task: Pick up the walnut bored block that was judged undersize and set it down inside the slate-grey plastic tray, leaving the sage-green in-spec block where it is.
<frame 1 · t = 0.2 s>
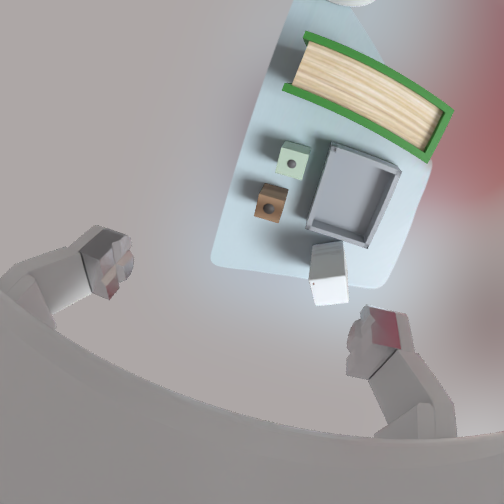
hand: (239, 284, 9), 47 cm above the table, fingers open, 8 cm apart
sage block: (295, 155, 52), on the table
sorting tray: (351, 193, 53), on the table
walnut block: (274, 196, 58), on the table
supplement box: (330, 254, 63), on the table
hardback book: (351, 90, 42), on the table
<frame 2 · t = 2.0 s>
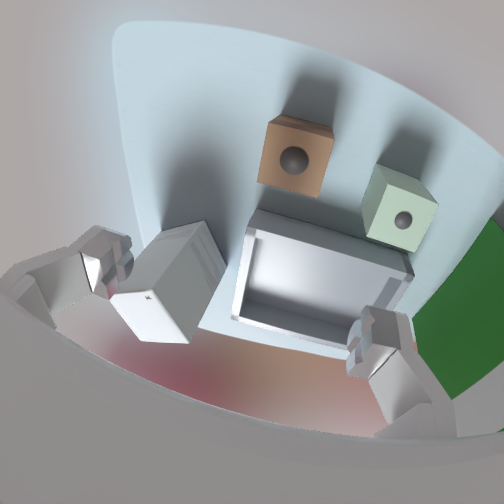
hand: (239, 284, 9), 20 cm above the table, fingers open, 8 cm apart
sage block: (390, 193, 25), on the table
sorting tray: (317, 279, 33), on the table
walnut block: (300, 144, 25), on the table
supplement box: (194, 248, 36), on the table
hardback book: (467, 281, 28), on the table
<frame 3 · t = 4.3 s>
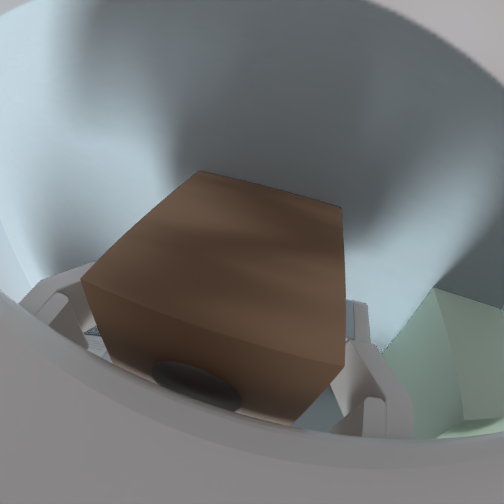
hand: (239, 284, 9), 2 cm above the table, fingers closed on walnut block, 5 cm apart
sage block: (442, 334, 11), on the table
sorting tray: (295, 419, 19), on the table
walnut block: (255, 247, 11), on the table, touching gripper
supplement box: (117, 360, 21), on the table
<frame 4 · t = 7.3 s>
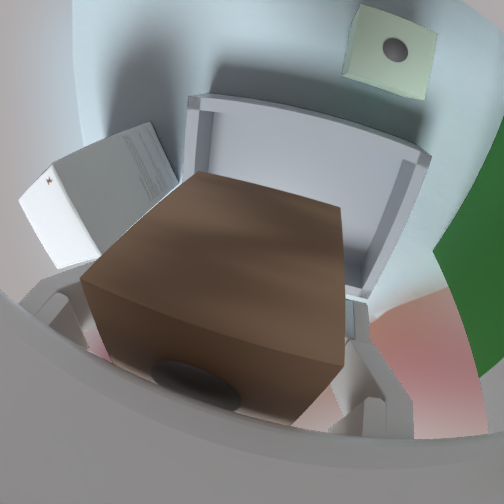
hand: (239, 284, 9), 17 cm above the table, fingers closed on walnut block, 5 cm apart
sage block: (376, 58, 16), on the table
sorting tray: (296, 187, 24), on the table
walnut block: (255, 247, 11), point 15 cm above the table, touching gripper
supplement box: (141, 164, 26), on the table
hardback book: (497, 195, 19), on the table
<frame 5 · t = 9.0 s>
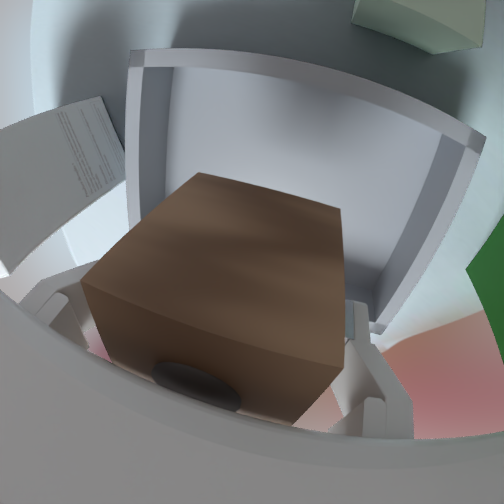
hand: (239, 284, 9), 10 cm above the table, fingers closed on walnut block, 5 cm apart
sage block: (399, 4, 9), on the table
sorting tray: (288, 177, 17), on the table
walnut block: (255, 248, 11), point 8 cm above the table, touching gripper
supplement box: (93, 151, 19), on the table
when the fingers open (4 cm above the table, at t = 10.4 s): walnut block drops 1 cm, resting on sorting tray.
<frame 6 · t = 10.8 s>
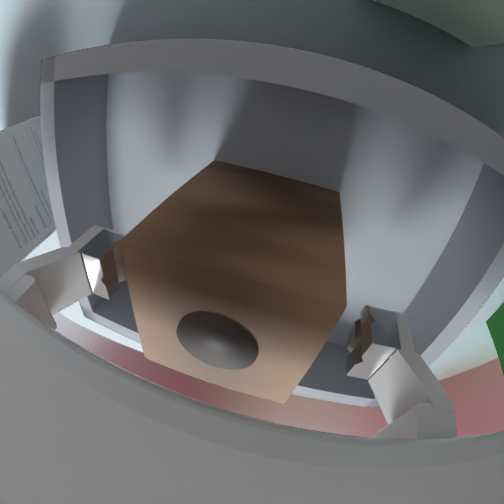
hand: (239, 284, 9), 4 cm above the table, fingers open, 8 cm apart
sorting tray: (265, 220, 12), on the table
walnut block: (263, 229, 12), point 1 cm above the table, touching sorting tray
supplement box: (40, 179, 15), on the table
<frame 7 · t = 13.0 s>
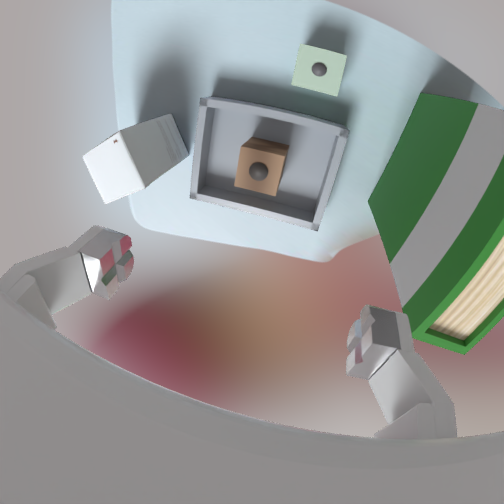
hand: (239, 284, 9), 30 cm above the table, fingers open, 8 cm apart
sage block: (318, 72, 28), on the table
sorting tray: (267, 156, 36), on the table
walnut block: (266, 158, 36), point 1 cm above the table, touching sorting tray
supplement box: (162, 142, 38), on the table
hardback book: (416, 160, 32), on the table
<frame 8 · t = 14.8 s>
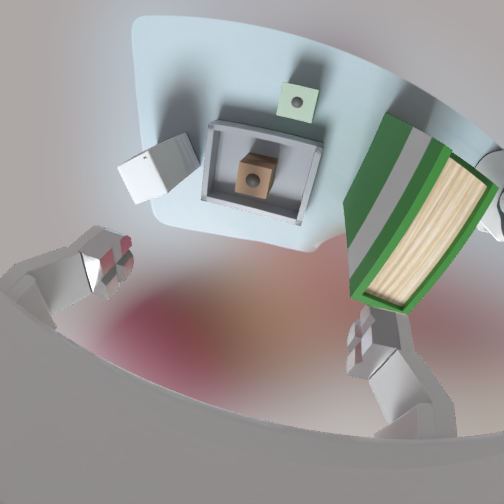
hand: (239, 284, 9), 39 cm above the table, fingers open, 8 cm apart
sage block: (300, 100, 39), on the table
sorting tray: (261, 167, 47), on the table
walnut block: (261, 169, 46), point 1 cm above the table, touching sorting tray
supplement box: (178, 155, 49), on the table
hardback book: (383, 168, 41), on the table
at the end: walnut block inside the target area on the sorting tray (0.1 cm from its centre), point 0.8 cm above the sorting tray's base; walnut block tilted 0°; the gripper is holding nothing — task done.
